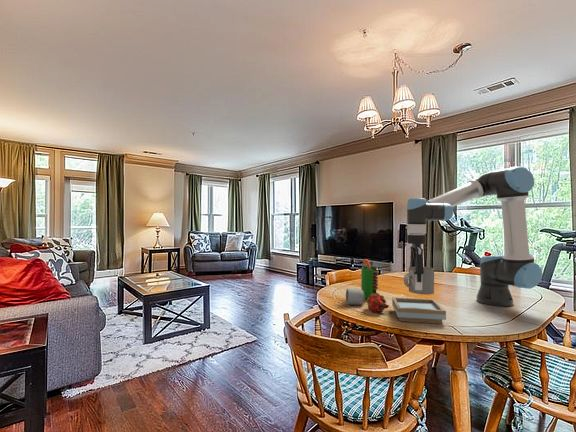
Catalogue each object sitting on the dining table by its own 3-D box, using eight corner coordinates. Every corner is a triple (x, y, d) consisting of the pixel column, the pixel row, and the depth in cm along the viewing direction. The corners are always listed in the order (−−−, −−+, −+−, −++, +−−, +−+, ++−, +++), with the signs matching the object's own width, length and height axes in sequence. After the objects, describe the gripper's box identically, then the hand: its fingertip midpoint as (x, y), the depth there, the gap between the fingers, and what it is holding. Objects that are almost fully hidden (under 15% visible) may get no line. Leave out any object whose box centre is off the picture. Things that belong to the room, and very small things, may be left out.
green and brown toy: (379, 300, 159) (379, 261, 159) (361, 299, 161) (361, 260, 161) (377, 295, 169) (377, 258, 169) (360, 294, 171) (360, 258, 171)
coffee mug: (425, 288, 138) (425, 266, 139) (439, 294, 129) (439, 269, 129) (397, 289, 137) (397, 266, 137) (408, 295, 127) (408, 270, 127)
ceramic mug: (365, 306, 149) (365, 290, 149) (348, 306, 149) (348, 290, 149) (360, 301, 159) (360, 285, 160) (344, 301, 159) (344, 285, 160)
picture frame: (434, 311, 140) (434, 299, 140) (446, 325, 123) (446, 310, 123) (392, 309, 144) (392, 297, 144) (397, 322, 126) (397, 308, 126)
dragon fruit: (373, 310, 148) (382, 322, 136) (359, 300, 147) (367, 311, 135) (384, 296, 148) (394, 306, 136) (370, 286, 146) (379, 296, 135)
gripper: (403, 233, 145) (403, 282, 144) (411, 235, 124) (411, 292, 124) (420, 233, 143) (420, 282, 143) (432, 235, 122) (432, 293, 122)
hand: (416, 287), depth 133 cm, fingers closed on coffee mug, 8 cm apart
